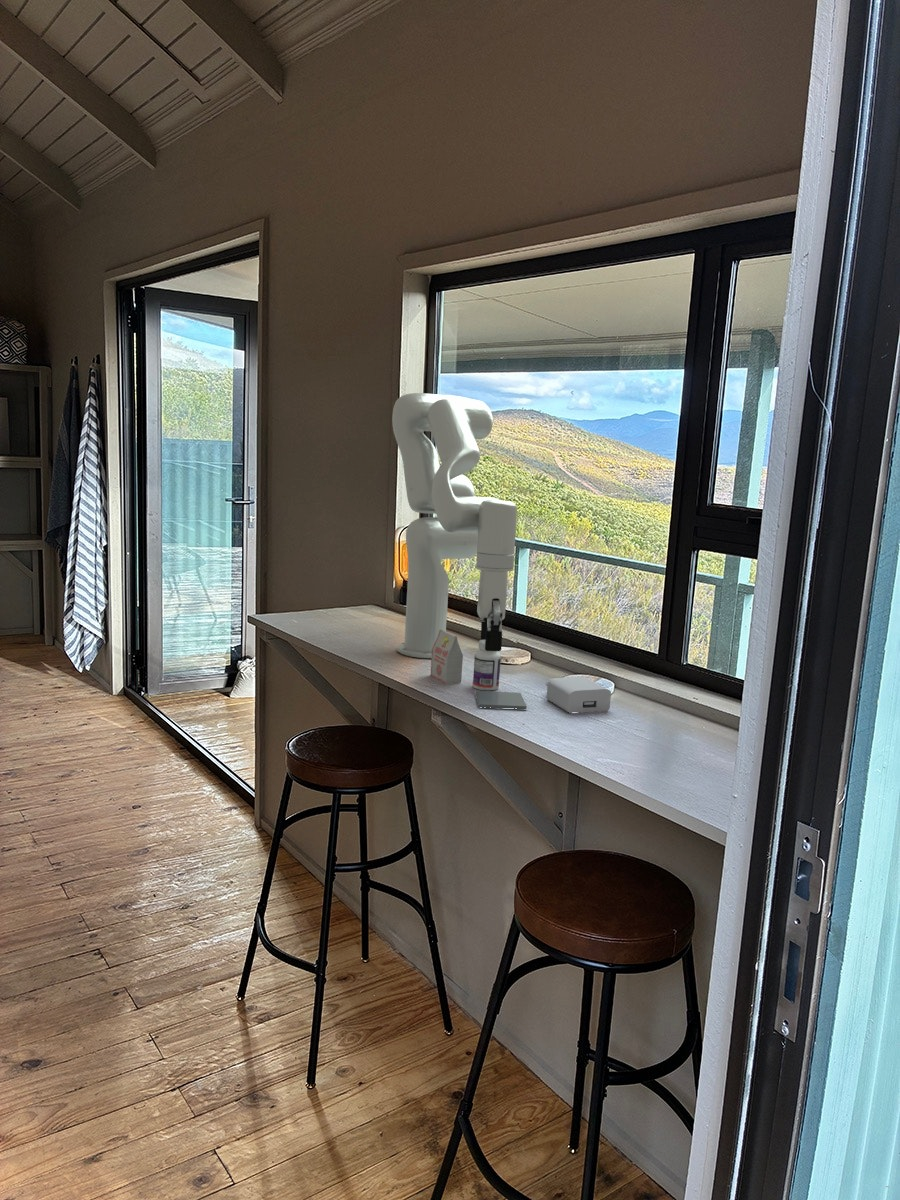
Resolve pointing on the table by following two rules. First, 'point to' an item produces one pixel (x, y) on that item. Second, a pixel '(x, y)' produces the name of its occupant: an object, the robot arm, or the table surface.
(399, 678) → the table surface
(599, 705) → the charger
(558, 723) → the table surface
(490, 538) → the robot arm
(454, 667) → the milk carton
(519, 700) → the coaster
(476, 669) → the pill bottle
